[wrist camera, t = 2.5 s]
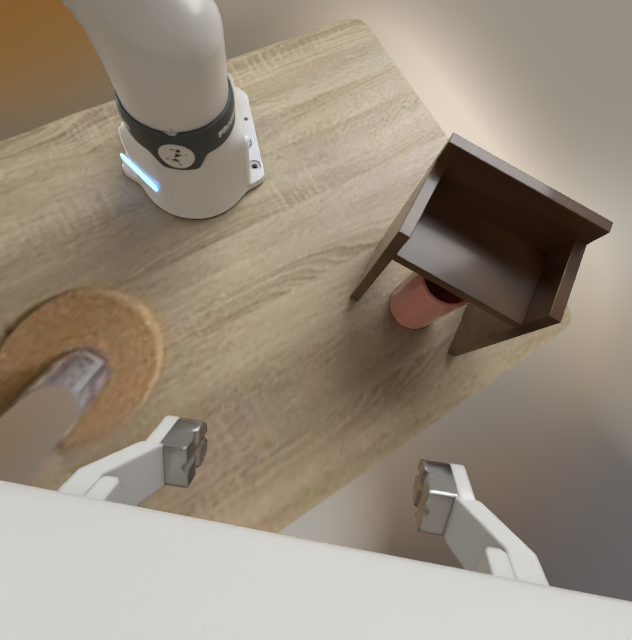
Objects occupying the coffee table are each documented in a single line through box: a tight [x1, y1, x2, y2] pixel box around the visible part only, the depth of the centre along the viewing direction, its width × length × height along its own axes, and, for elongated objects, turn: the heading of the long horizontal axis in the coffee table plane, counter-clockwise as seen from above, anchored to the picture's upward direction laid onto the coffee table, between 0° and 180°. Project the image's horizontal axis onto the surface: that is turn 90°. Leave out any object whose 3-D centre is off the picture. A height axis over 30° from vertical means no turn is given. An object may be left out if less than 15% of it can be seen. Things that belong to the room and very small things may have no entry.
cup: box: [390, 271, 468, 329], centre depth 47 cm, size 7×7×10 cm
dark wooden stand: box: [350, 133, 613, 356], centre depth 42 cm, size 10×16×21 cm, turn 62°
